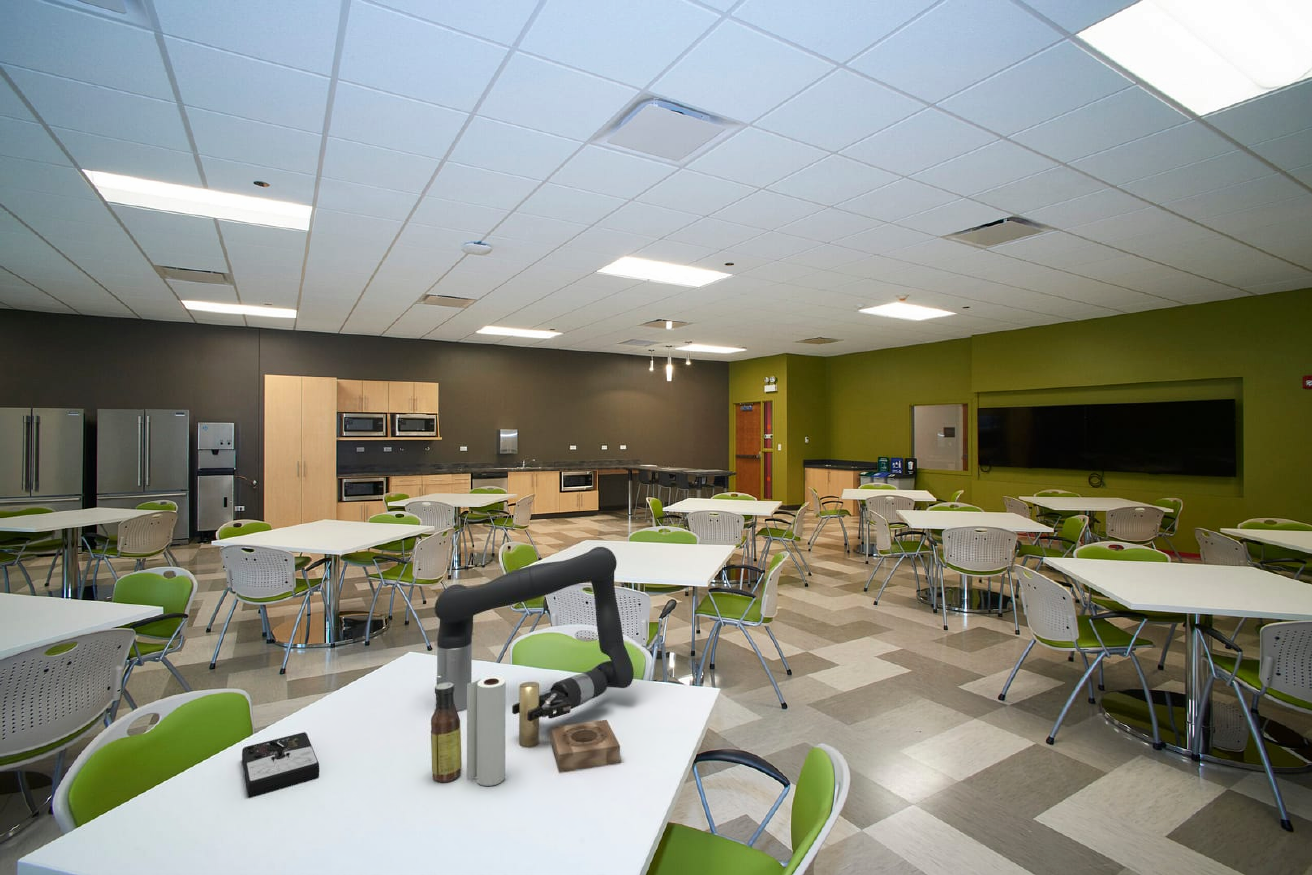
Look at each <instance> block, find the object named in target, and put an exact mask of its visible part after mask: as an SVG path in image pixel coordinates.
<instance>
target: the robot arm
mask: <svg viewBox="0 0 1312 875" xmlns="http://www.w3.org/2000/svg"><path fill="white" fill-rule="evenodd" d="M616 569H617V558H616V555H615V554H614V552H613V551H612V550H611V549H609V547H605V546H596V547H594V548H592V549H590V550H589V551H587V552H585V553H583V554H579V555H577V556H575V557H571V558H568V559H564V560H560V561H559V560H558V561H551V562H543V563H536V564H533V565H532V564H531V565H528V566H526V567H525V566H524V567H522V568H521V567H520V568H518V569H515V570H512V571H510V572H507V573H505V574H503V575H502V574H501V575H500V576H498V577H497V578H494V579H493V580H489V581H488V582H486V583H483V584H479V585H476V586H471V587H470V586H469V587H468V586H466V585H463V584H460V583H459V584H458V583H457V584H455V583H454V584H452V585H450V586H449V585H448V586H447V587H446V588H445V589H444V590H443V591H442V592H441V593H440V594H439V596H438V597H437V599H436V601H435V604H434V613H435V616H436V617H437V619H439V626H438V633H437V637H436V642H437V643H436V645H437V646H436V649H437V651H436V652H437V654H436V655H437V658H436V685H438V684H441V683H447V682H449V683H452V684H454V692H453V696H454V704H455V707H456V710H457V712H461V711H463V710H467V684H469V683H472V682H473V681H472V680H473V679H472V672H473V671H472V667H473V666H472V664H473V663H472V661H473V660H472V659H473V658H472V649H473V648H472V645H473V644H472V642H473V641H472V640H473V631H474V630H473V629H474V616H476V615H479V614H482V613H484V612H488V611H491V610H493V609H494V610H495V609H499V608H503V607H508V606H512V605H515V604H516V605H517V604H520V603H525V602H528V601H531V600H535V599H538V598H541V597H544V596H548V595H550V594H551V595H552V594H553V593H556V592H559V591H562V590H564V589H566V588H568V587H571V586H576V585H580V584H585V583H590V582H591V586H592V592H593V597H594V604H595V605H594V606H595V619H596V620H595V621H596V628H597V629H596V630H597V638H598V643H599V645H598V646H599V650H600V653H602V654H604V655H606V656H607V657H609V660H607V661H603V662H600V663H599V664H597V665H596V666H595V667H593V668H592V669H591V670H588V671H587V670H586V671H584V672H581V673H579V674H575V675H571V676H569V677H567V678H564V679H561V680H560V681H556V682H555V683H553V684H552V686H551V688H550V689H549V690H545V691H543V692H539V707H538V708H536V709H533V710H531V711H529V712H528V713H527V720H528V721H533V720H535V719H537V718H539V719H540V718H546V717H547V718H548V719H555V718H558V717H560V716H561V717H562V716H564V715H568V714H570V713H571V710H572V709H575V708H577V707H579V706H582V705H584V704H586V703H587V702H589V701H591V700H592V699H595V698H598V697H599V696H601V695H603V694H604V693H605V691H606V690H607V688H616V689H617V688H618V689H626V688H629V687H630V685H632V683H633V681H634V675H635V670H634V665H633V663H632V660H631V658H630V654H629V653H628V652H629V651H628V650H627V648H626V645H625V643H624V642H625V641H624V635H623V627H622V621H621V614H620V610H619V607H618V602H617V596H616V588H615V572H616ZM511 709H512V710H511V711H512V712H511V713H512V715H517V714H519V702H517V703H514V704H513V705H512V707H511Z"/></svg>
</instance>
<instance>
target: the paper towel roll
mask: <svg viewBox="0 0 1312 875" xmlns="http://www.w3.org/2000/svg"><path fill="white" fill-rule="evenodd" d="M506 681H507V680H506V679H505V678H503V677H501V676H500V677H499V676H490V677H486V678H481V679H478V680H475V681H472V683H469V684H467V708H466V781H467V782H468V781H472V780H474V779H475V778H476V781H477V784H479V785H481V786H486V787H489V786H495V785H498V784H500V783H503V781H504V780H505V778H506V690H507V689H506V688H507V687H506V685H507V684H506Z"/></svg>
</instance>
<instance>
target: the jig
mask: <svg viewBox="0 0 1312 875" xmlns="http://www.w3.org/2000/svg"><path fill="white" fill-rule="evenodd" d="M550 745H551V749H552V753H553V756H554V759H555V763H556V767H557V770H558V771H557V772H558V773H559V774H560V773H565V772H571V771H577V770H578V771H579V770H585V769H590V768H597V767H602V766H603V767H604V766H609V765H610V766H611V765H616V764H617V765H618V764H620V763H621V744H620V743H619V741H618V738H617V737H616V735H615V733H614V731H613V728H612V727H611V725H610V724H609V721H608V720H607V719H602V720H601V719H600V720H594V721H586V722H585V721H584V722H580V723H572V724H565V725H556V726H550Z"/></svg>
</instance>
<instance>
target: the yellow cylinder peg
mask: <svg viewBox="0 0 1312 875" xmlns="http://www.w3.org/2000/svg"><path fill="white" fill-rule="evenodd" d="M539 693H540V683H539V682H536V681H526V682H522V683H521V684H519V690H518V694H519V695H518V696H519V697H518V698H519V699H518V703H519V713H518V716H519V717H518V718H519V720H518V721H519V722H518V726H519V727H518V733H519V734H518V736H519V737H518V740H519V742H518V744H519V745H518V746H520V747H521V748H526V749H527V748H533V747H537V746H538V745H539V744H540V718H537V719H535V720H533V721H528V720H527V713H528V712H529V711H531V710H533V709H536V708H538V707H539Z"/></svg>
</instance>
